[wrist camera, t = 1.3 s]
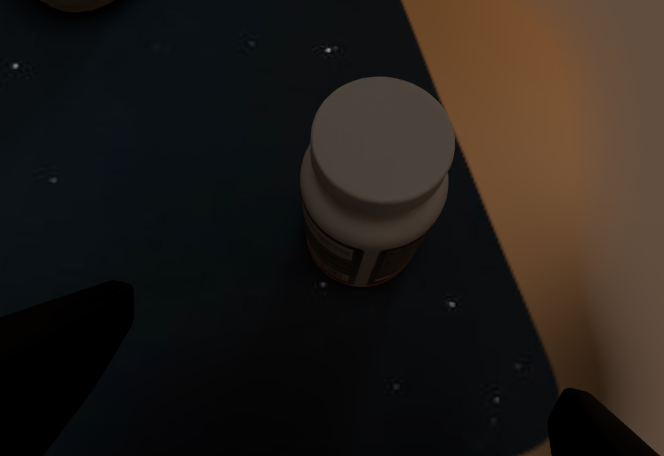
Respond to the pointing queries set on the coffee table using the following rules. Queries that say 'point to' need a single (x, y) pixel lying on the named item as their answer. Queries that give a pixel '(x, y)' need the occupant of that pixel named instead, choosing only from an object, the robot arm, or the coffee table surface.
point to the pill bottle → (374, 178)
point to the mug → (76, 4)
